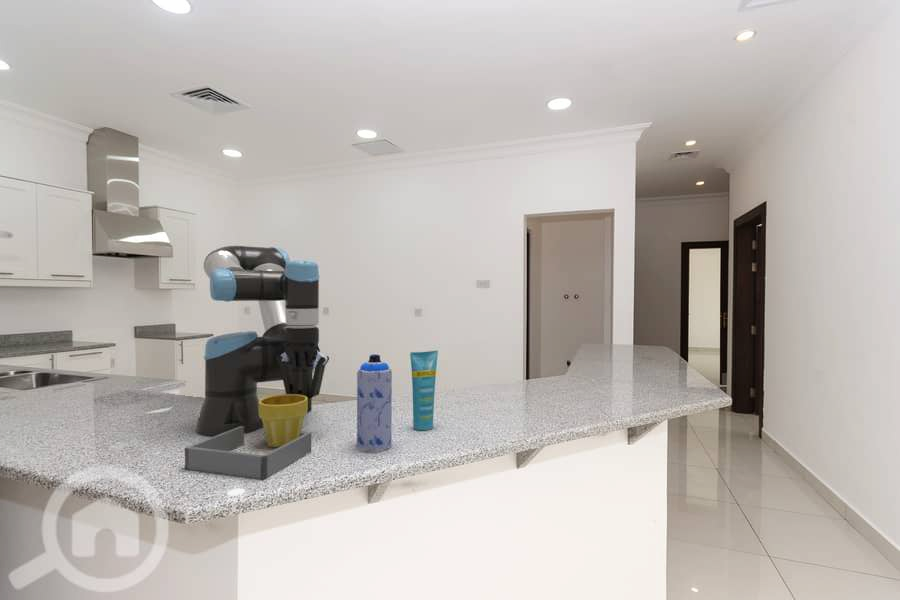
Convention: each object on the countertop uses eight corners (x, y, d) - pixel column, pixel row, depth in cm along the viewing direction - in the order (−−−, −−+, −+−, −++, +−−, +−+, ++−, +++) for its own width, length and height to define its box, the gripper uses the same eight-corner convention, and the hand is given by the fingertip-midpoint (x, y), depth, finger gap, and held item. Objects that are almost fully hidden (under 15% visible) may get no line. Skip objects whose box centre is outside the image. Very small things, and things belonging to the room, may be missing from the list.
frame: (184, 468, 86) (184, 447, 86) (240, 443, 101) (241, 425, 101) (264, 479, 81) (264, 457, 81) (311, 451, 96) (311, 432, 96)
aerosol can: (398, 447, 99) (399, 355, 99) (365, 454, 94) (365, 358, 94) (382, 438, 105) (382, 351, 105) (350, 444, 101) (350, 354, 100)
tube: (415, 432, 110) (415, 353, 109) (405, 427, 114) (406, 350, 113) (441, 427, 114) (441, 351, 113) (431, 423, 118) (431, 349, 118)
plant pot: (315, 443, 101) (314, 399, 101) (266, 454, 94) (266, 407, 94) (298, 432, 109) (298, 391, 109) (253, 441, 103) (252, 398, 102)
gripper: (268, 327, 105) (268, 428, 106) (318, 328, 102) (319, 432, 103) (287, 324, 113) (287, 419, 113) (335, 325, 110) (335, 423, 110)
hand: (302, 425), depth 108 cm, fingers closed
